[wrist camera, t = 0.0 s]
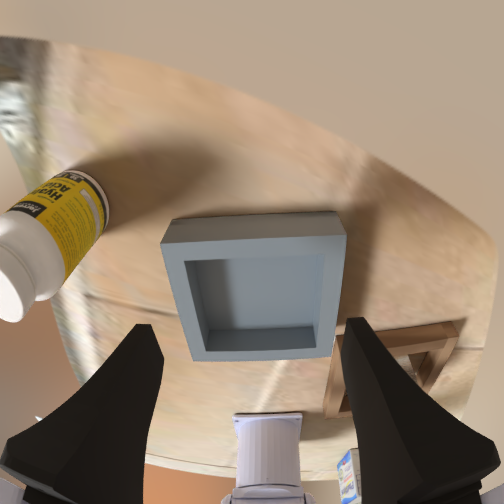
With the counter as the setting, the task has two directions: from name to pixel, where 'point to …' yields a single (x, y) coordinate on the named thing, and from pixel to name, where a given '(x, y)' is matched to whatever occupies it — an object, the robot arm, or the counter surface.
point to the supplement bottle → (47, 239)
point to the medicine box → (350, 478)
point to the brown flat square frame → (398, 343)
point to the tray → (257, 284)
